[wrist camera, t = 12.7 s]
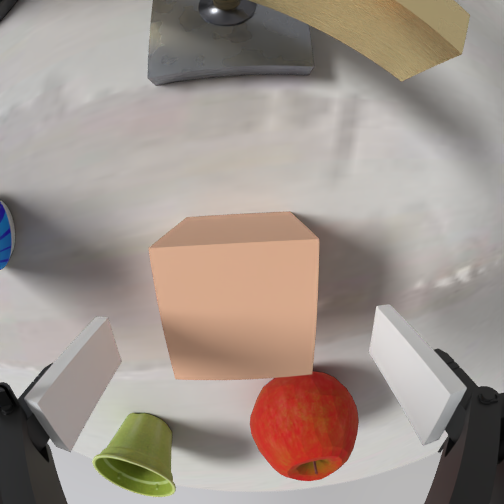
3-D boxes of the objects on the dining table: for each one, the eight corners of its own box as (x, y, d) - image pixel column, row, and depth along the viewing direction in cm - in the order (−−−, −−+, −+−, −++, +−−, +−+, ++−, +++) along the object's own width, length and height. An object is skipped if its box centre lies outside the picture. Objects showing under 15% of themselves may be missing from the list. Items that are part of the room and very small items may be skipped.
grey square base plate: (162, -18, 15) (156, -30, 13) (294, -27, 15) (297, -40, 13) (155, 85, 18) (146, 77, 16) (308, 75, 18) (314, 65, 16)
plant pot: (123, 390, 27) (97, 445, 18) (197, 424, 28) (187, 483, 20) (109, 425, 29) (88, 472, 20) (171, 453, 30) (161, 502, 22)
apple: (347, 408, 28) (373, 478, 18) (263, 430, 28) (268, 503, 18) (339, 345, 25) (377, 425, 15) (236, 373, 26) (233, 461, 16)
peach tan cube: (186, 217, 21) (148, 248, 13) (290, 211, 21) (319, 238, 13) (197, 310, 24) (175, 379, 15) (291, 305, 24) (312, 374, 15)
